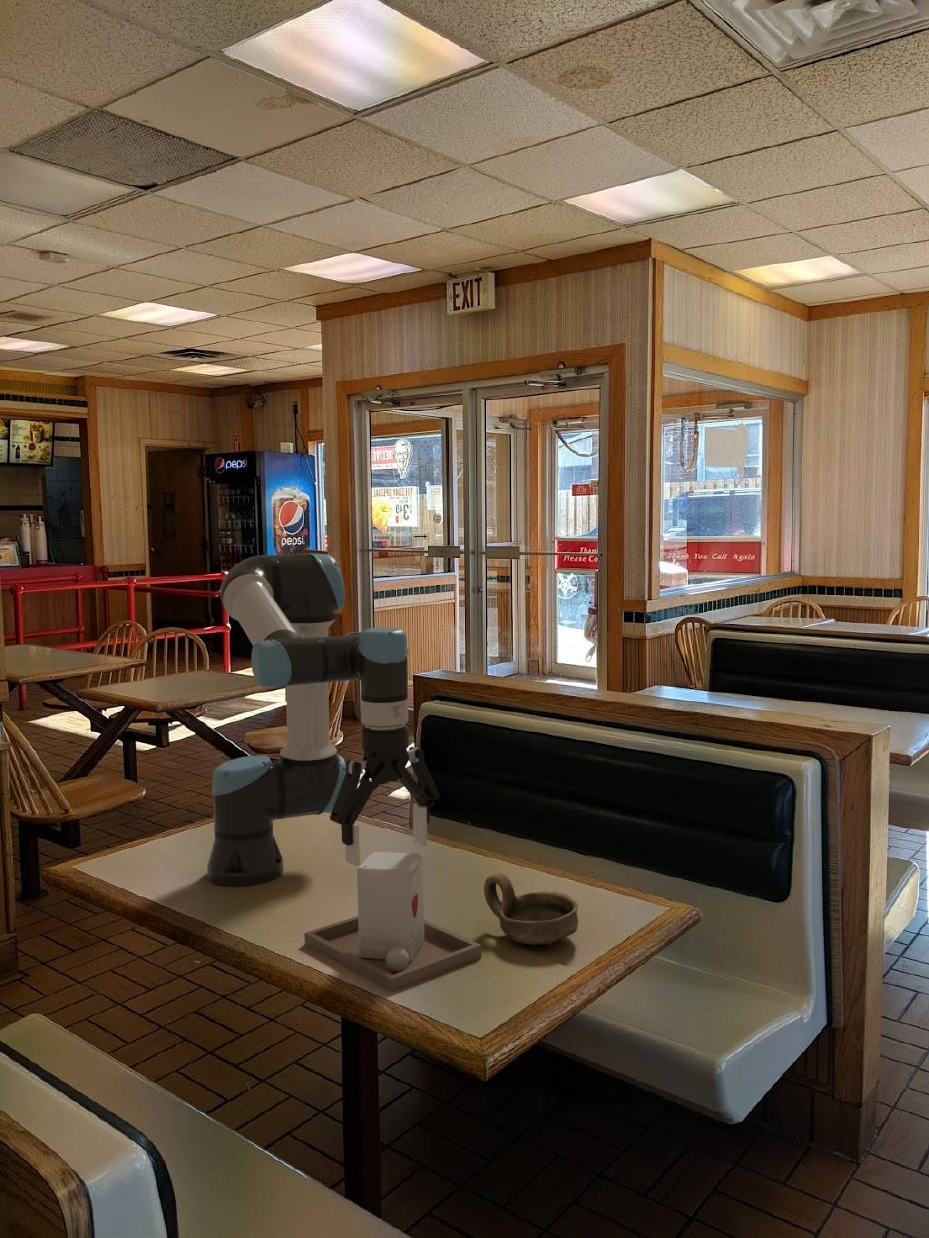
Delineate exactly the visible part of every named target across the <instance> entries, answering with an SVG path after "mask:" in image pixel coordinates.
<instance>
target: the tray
mask: <svg viewBox="0 0 929 1238" xmlns="http://www.w3.org/2000/svg"><path fill="white" fill-rule="evenodd" d="M303 933H304V936H303V937H304V946H307V947H309V948H310V949H312V950H314V951H316V952H317V953H320V954H322V955H324V956H325V957H327V958H328V959H330V960H332V961H334V962H336V963H338V964H340V965H342V966H343V967H345V968H347V969H348V970H351V971H352V972H354V973H356V974H358V975H359V976H362V977H363V978H365V979H366V980H369V981H370V982H373V983H374V984H376V985H378V986H380V987H381V988H383V989H385V990H387V991H389V992H390V993H391V992H392V993H393V992H395V991H397V990H400V989H402V988H405V987H409V986H410V985H413V984H416V983H418V982H420V981H423V980H425V979H429V978H430V977H433V976H436V975H439V974H441V973H444V972H446V971H448V970H452V969H454V968H456V967H459V966H461V965H464V964H466V963H469V962H471V961H474V960H476V959H479V958H482V956H483V955H482V944H480V943H477V942H476V941H474V940H471V939H468V938H467V937H464V936H462V935H459V934H457V933H455V932H453V931H451V930H449V929H446V928H444V927H442V926H439V925H437V924H436V923H432V922H430V921H428V920H426V919H424V942H423V944H422V945H421V947H420V948H419V950H418V951H417V953H416V955H415V956H414V958H413V959H412V961H411V962H409V964H408V966H407V967H406V969H404V970H403V971H401V972H394V971H392V970H390V969H389V968H388V966H387V964H386V960H384V959H371V958H359V933H358V915H356V916H353V917H350V918H347V919H344V920H341V921H337V922H334V923H331V924H328V925H326V926H322V927H319V928H316V929H313V930H310V931H306V932H303Z"/></svg>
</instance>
